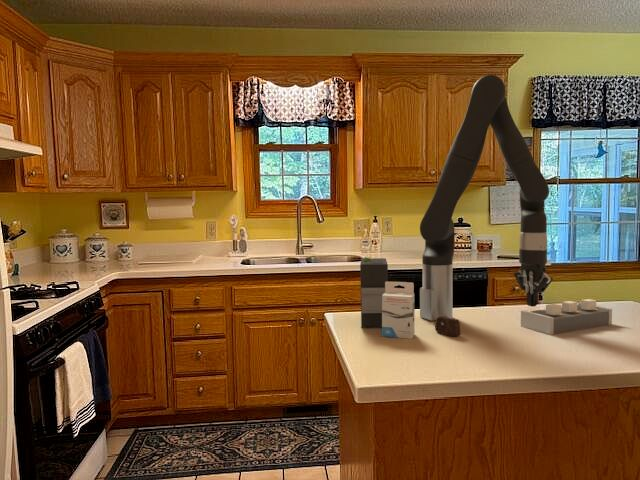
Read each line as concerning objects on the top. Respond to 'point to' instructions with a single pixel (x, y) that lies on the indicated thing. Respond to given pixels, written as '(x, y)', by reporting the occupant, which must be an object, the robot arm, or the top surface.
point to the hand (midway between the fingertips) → (532, 305)
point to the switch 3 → (588, 304)
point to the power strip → (566, 319)
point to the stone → (448, 326)
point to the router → (372, 290)
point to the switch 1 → (553, 309)
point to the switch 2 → (569, 306)
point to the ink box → (398, 310)
